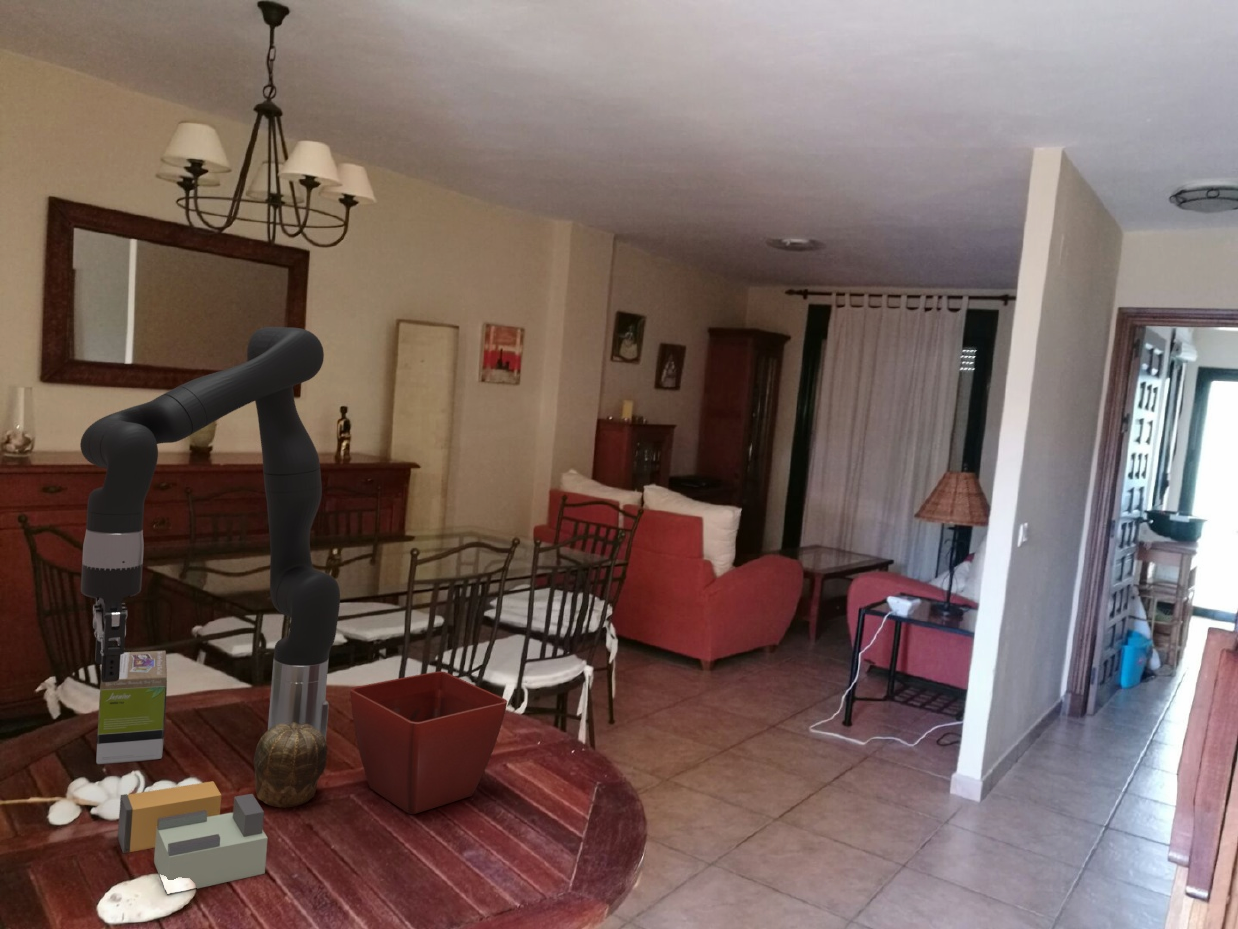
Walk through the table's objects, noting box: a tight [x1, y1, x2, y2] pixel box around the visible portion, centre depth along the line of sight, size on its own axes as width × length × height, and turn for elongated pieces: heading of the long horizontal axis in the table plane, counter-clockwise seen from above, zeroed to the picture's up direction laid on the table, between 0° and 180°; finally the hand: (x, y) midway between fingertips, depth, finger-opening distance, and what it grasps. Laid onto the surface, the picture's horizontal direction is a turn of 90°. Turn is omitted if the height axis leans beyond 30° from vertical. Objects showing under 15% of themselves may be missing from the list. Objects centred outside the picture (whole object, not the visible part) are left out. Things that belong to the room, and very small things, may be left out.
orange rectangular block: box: [117, 780, 222, 854], centre depth 127 cm, size 12×5×6 cm, turn 127°
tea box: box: [95, 650, 168, 765], centre depth 155 cm, size 15×10×15 cm, turn 27°
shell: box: [253, 722, 328, 809], centre depth 142 cm, size 11×11×12 cm
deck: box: [153, 793, 268, 889], centre depth 120 cm, size 12×9×8 cm
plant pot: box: [349, 670, 508, 815], centre depth 149 cm, size 19×19×17 cm
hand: (106, 671), depth 129 cm, fingers open, 8 cm apart
